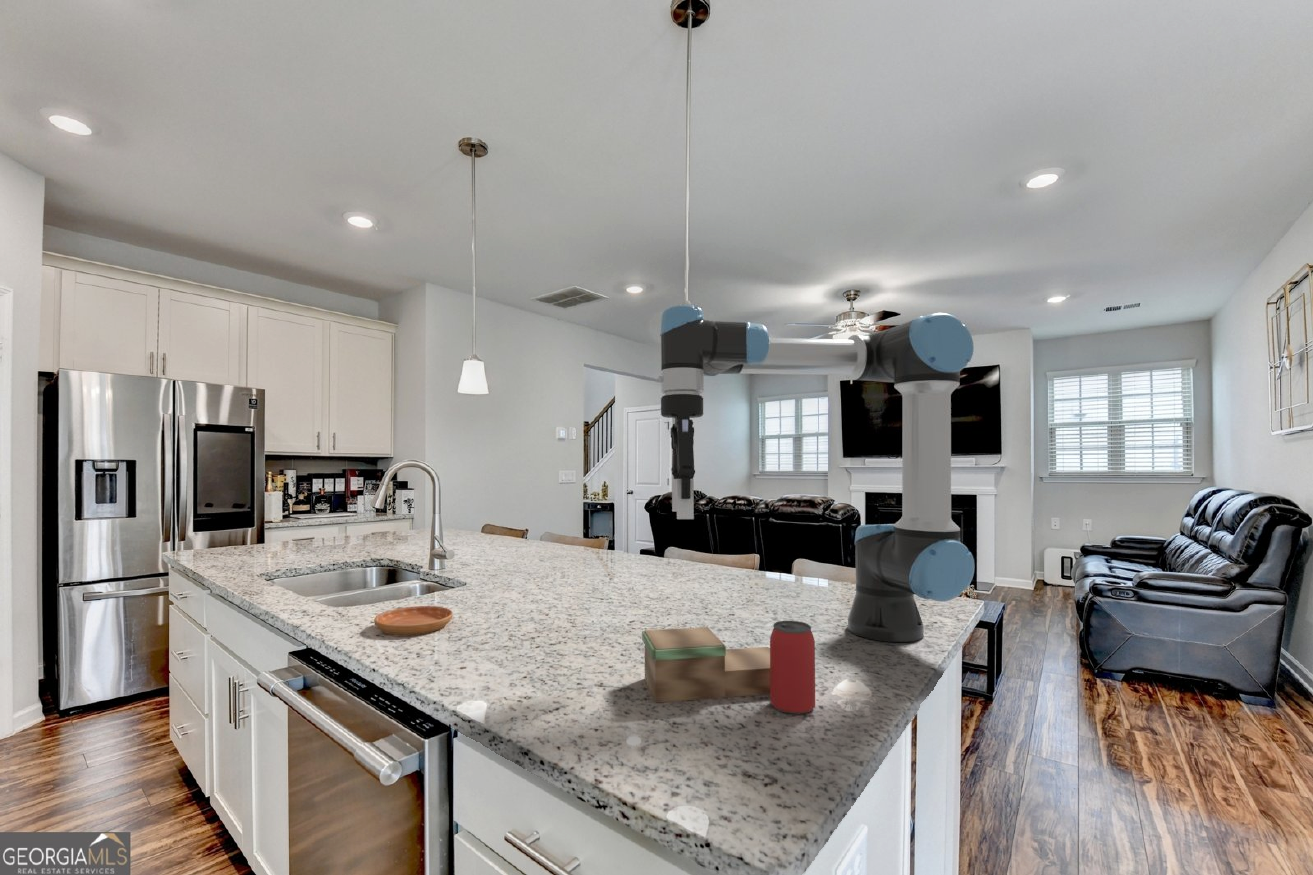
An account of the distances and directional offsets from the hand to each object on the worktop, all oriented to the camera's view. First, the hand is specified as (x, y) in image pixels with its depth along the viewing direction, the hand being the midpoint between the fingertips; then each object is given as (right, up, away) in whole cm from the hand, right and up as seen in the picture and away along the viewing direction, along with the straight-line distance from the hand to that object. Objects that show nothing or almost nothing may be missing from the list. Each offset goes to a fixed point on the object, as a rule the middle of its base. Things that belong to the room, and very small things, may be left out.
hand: (682, 515), depth 103 cm
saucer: (-58, -29, +26) cm, 69 cm away
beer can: (+16, -27, -15) cm, 35 cm away
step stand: (+5, -27, -7) cm, 28 cm away
